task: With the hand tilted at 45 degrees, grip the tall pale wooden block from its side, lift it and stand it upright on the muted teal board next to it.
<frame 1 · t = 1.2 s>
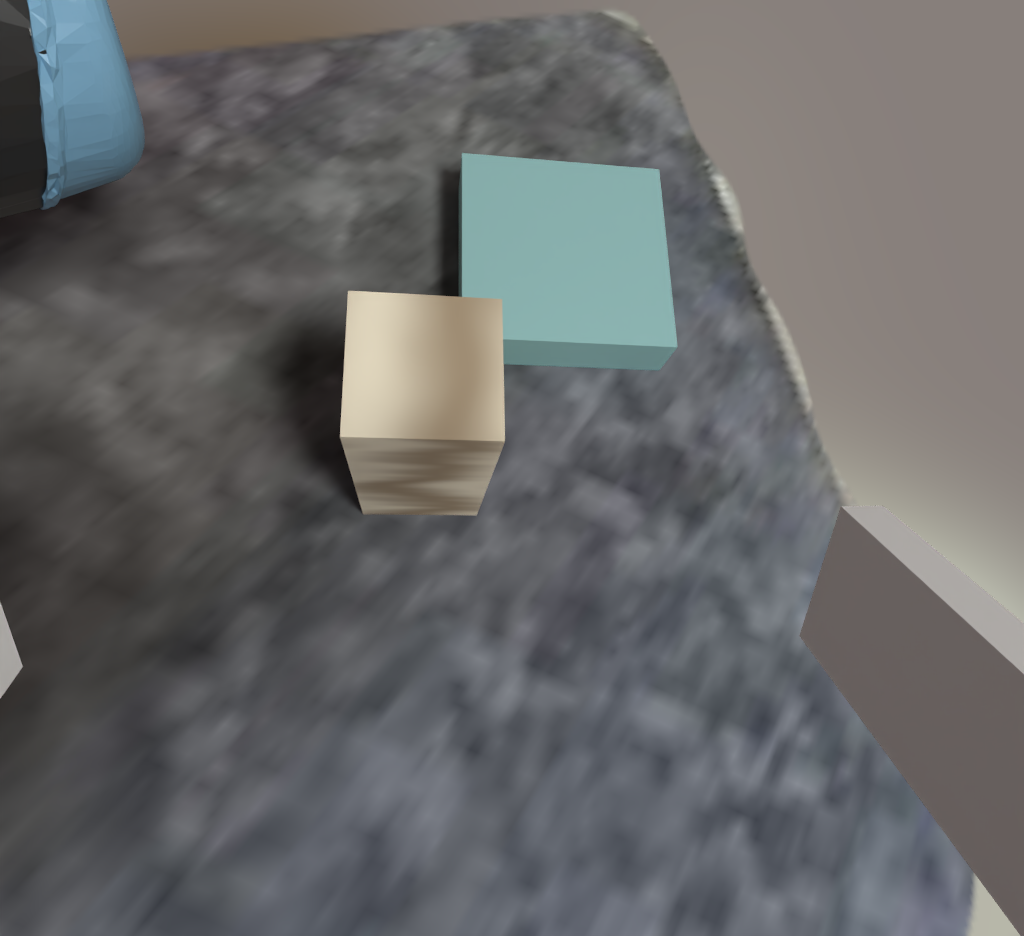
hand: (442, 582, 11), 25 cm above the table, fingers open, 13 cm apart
pale wooden block: (421, 461, 37), on the table
teal board: (556, 277, 42), on the table
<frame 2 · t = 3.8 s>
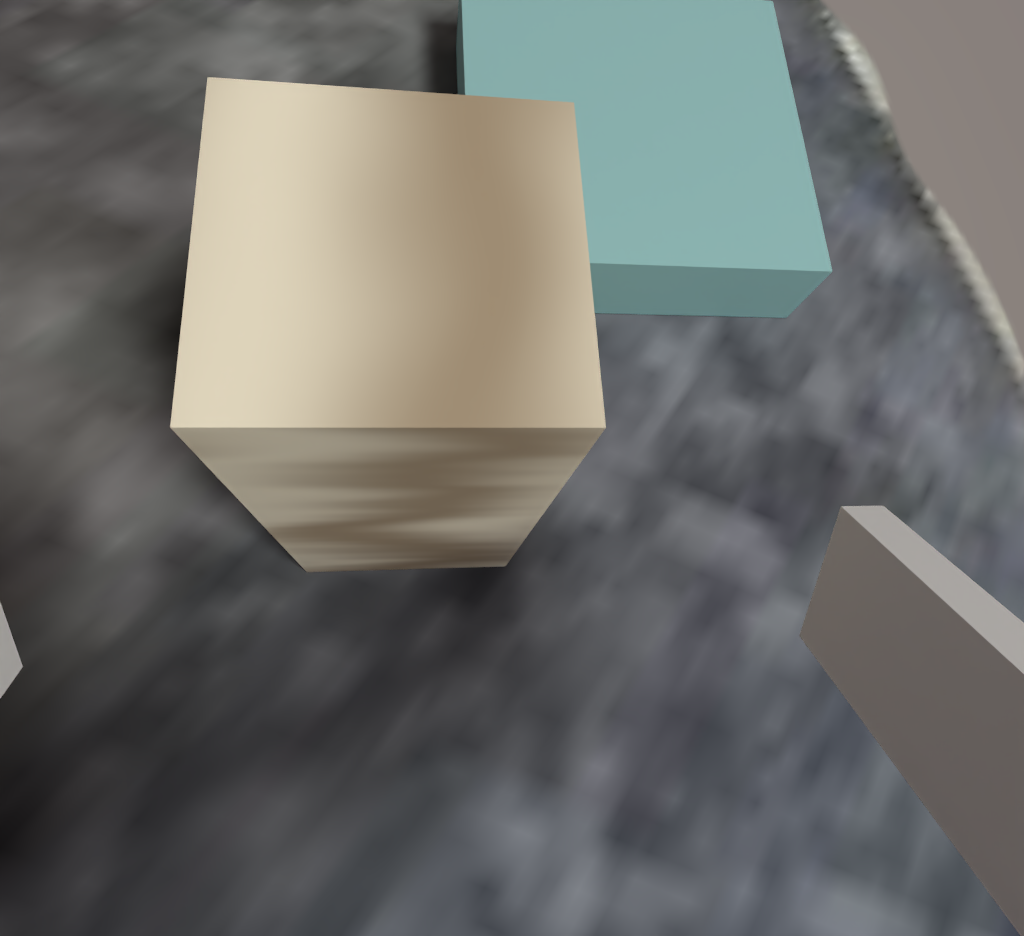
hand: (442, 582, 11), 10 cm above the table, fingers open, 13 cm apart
pale wooden block: (407, 475, 22), on the table
teal board: (615, 176, 26), on the table
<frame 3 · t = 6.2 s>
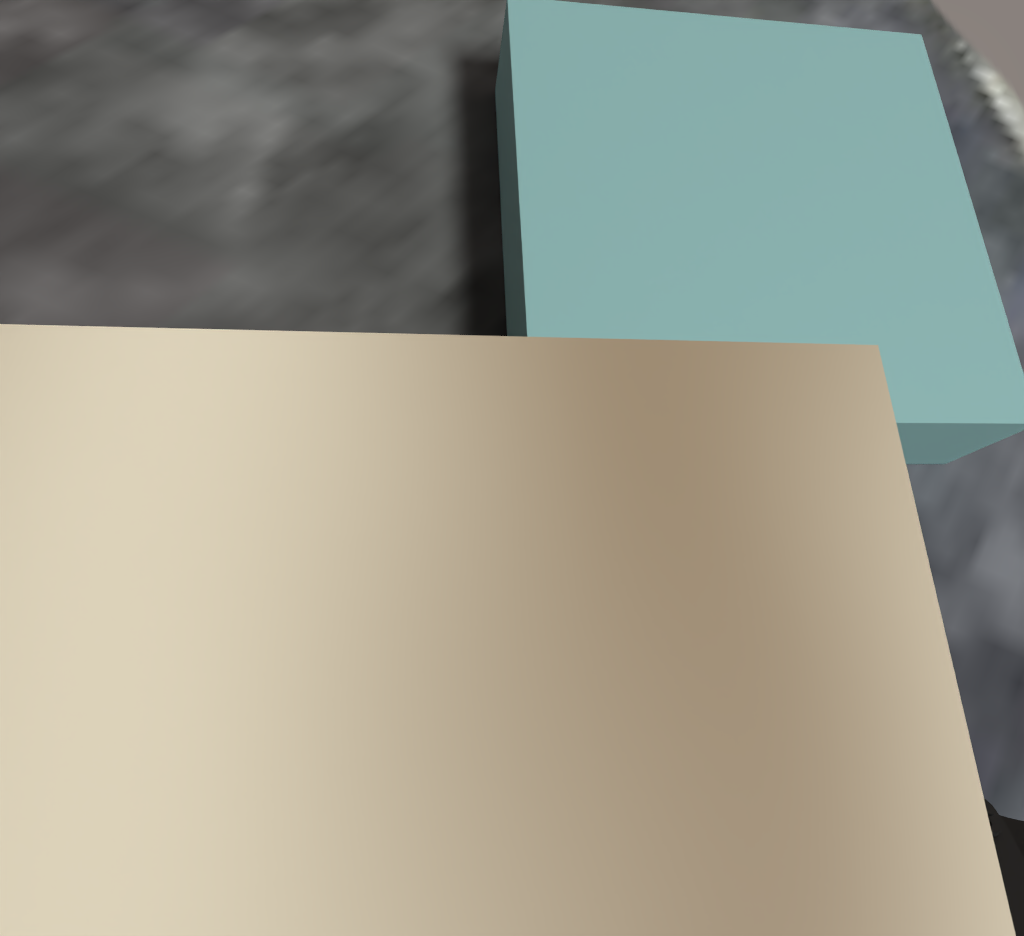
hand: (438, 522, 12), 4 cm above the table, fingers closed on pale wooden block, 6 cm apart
pale wooden block: (435, 724, 15), on the table, touching gripper
teal board: (708, 267, 20), on the table
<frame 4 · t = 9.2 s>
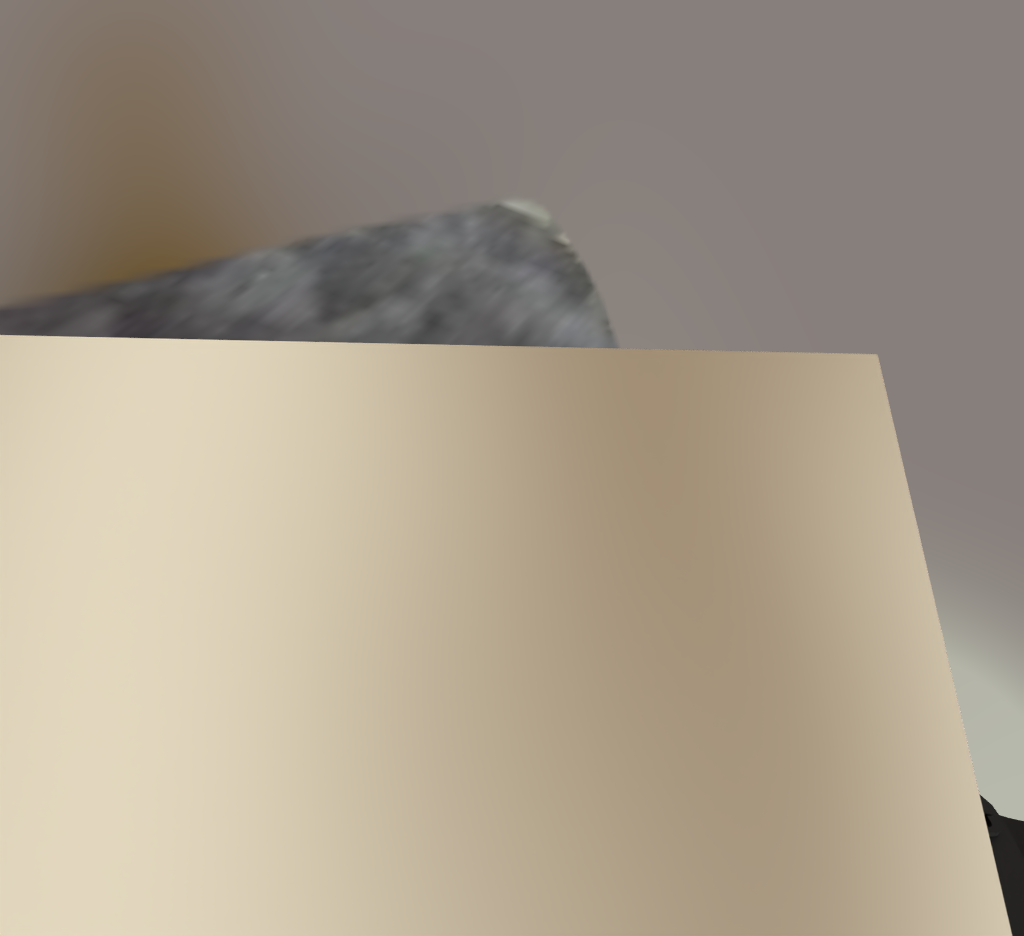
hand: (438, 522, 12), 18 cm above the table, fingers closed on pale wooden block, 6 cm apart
pale wooden block: (435, 727, 15), point 14 cm above the table, touching gripper
when the fingers open (8 cm above the table, at t = 12.2 s): pale wooden block drops 1 cm, resting on teal board.
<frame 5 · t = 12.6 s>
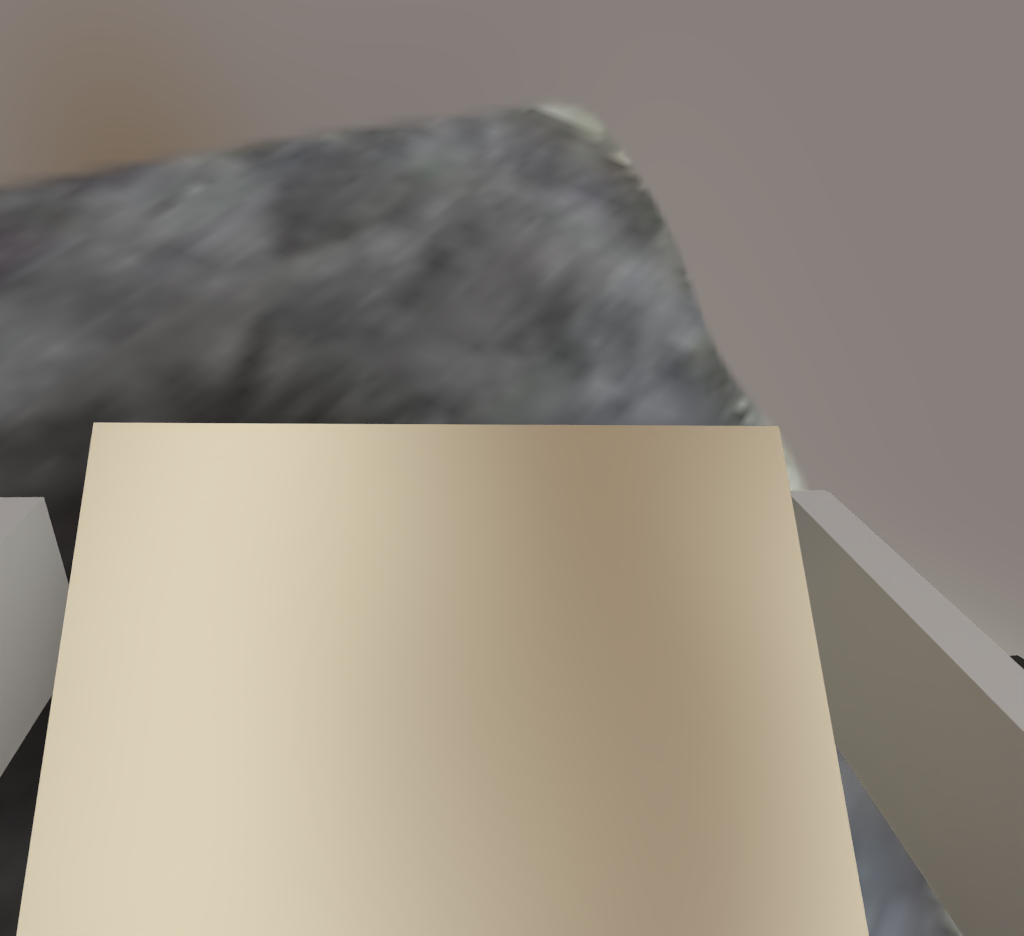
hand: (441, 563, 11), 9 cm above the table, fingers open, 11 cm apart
pale wooden block: (433, 724, 16), point 3 cm above the table, touching teal board
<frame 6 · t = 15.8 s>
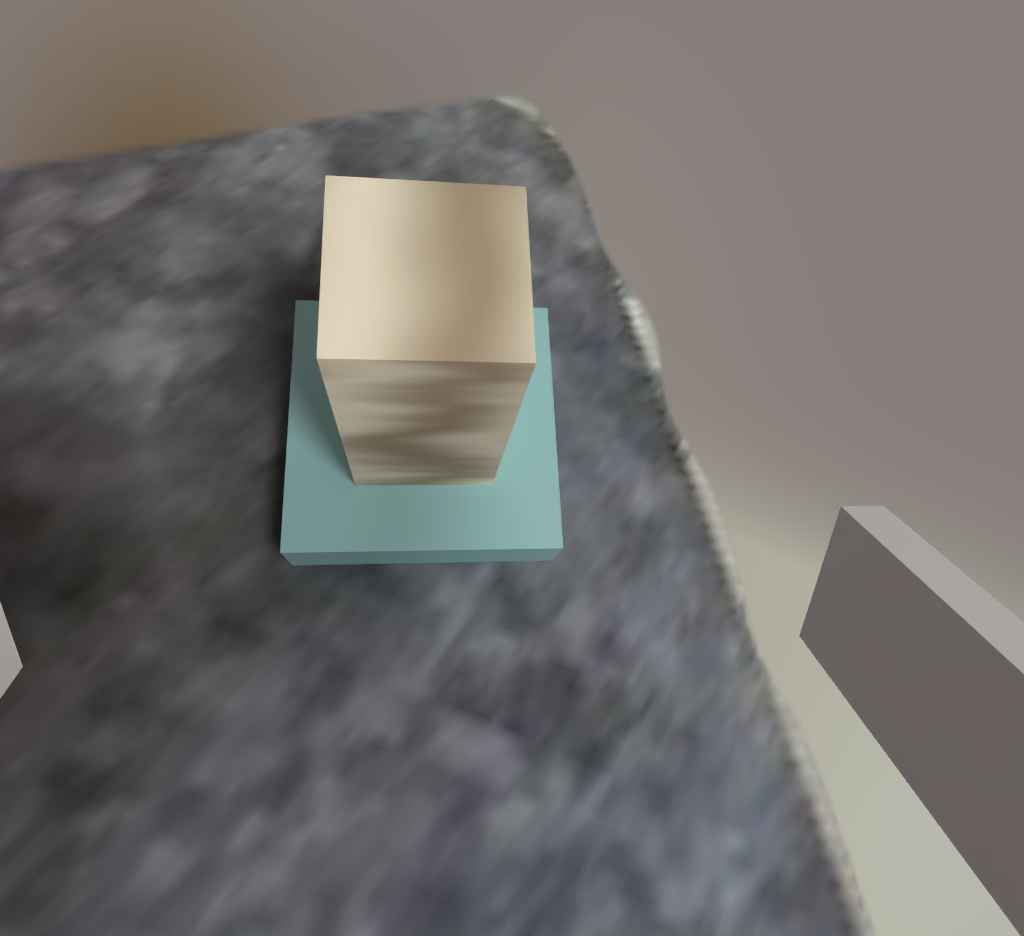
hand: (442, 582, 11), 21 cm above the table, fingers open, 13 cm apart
pale wooden block: (424, 421, 31), point 3 cm above the table, touching teal board
teal board: (424, 442, 34), on the table
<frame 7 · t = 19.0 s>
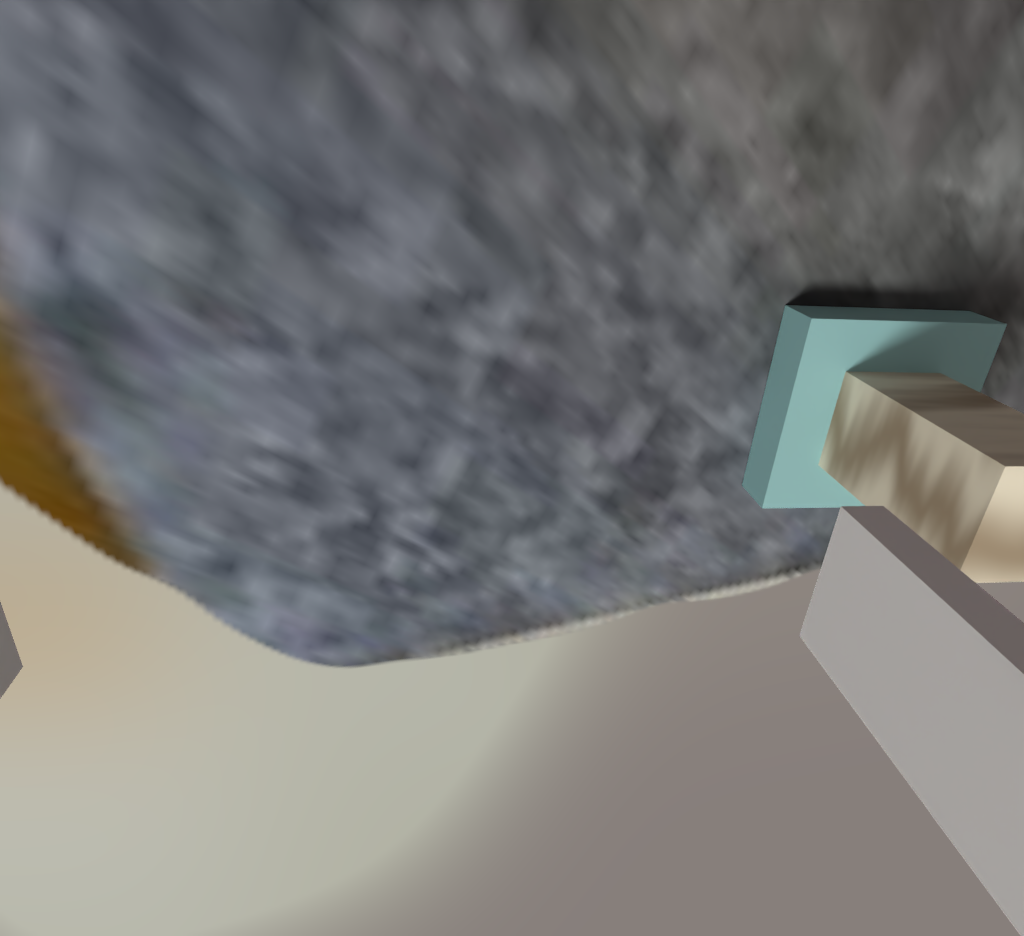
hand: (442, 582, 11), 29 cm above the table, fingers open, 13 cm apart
pale wooden block: (877, 420, 41), point 3 cm above the table, touching teal board
teal board: (850, 401, 44), on the table
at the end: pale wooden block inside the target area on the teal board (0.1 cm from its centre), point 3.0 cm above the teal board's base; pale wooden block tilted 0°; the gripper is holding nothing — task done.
